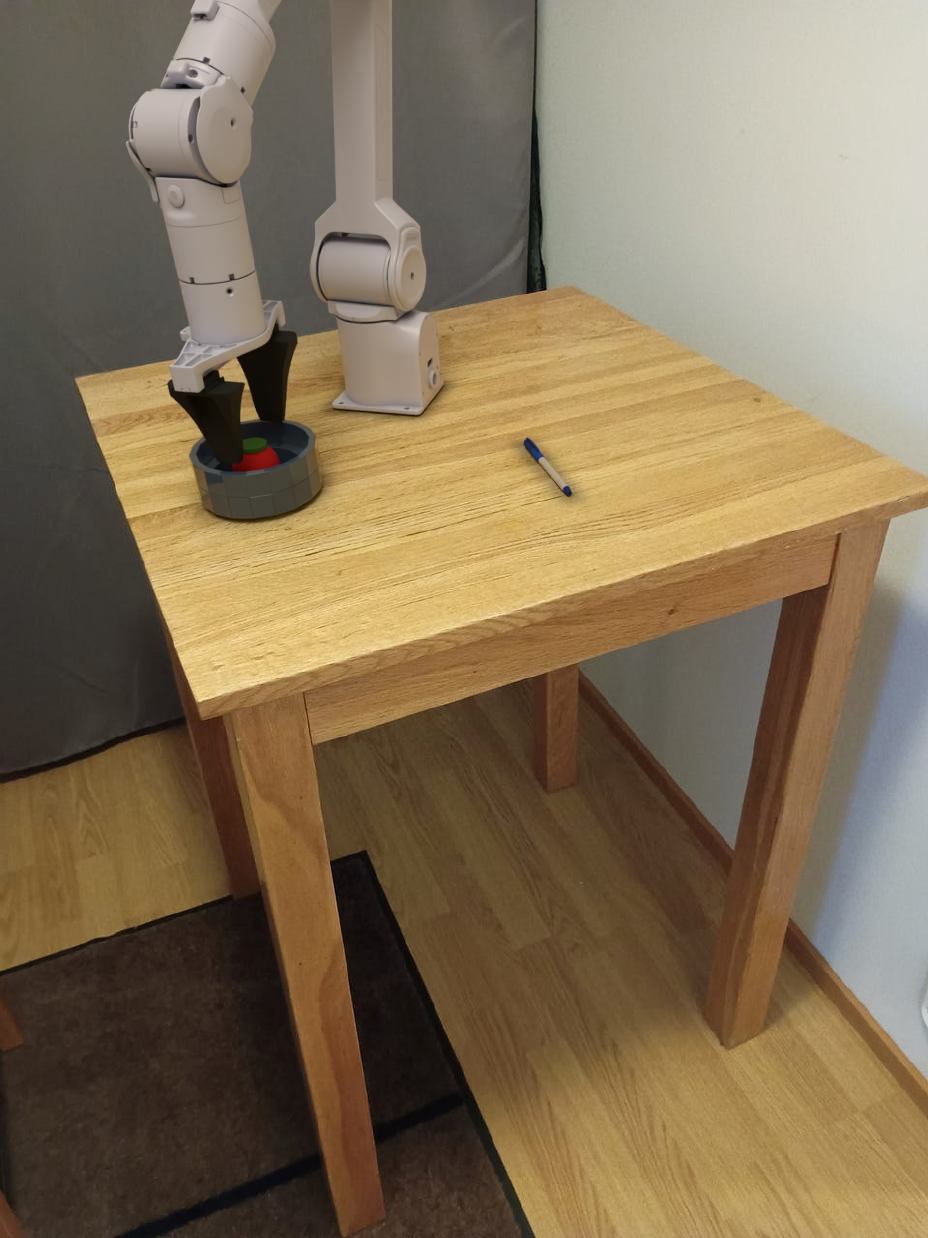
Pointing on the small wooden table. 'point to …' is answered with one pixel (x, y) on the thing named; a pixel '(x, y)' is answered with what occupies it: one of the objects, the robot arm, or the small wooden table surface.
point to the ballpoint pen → (546, 465)
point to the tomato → (256, 456)
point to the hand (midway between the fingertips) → (252, 439)
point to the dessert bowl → (261, 473)
